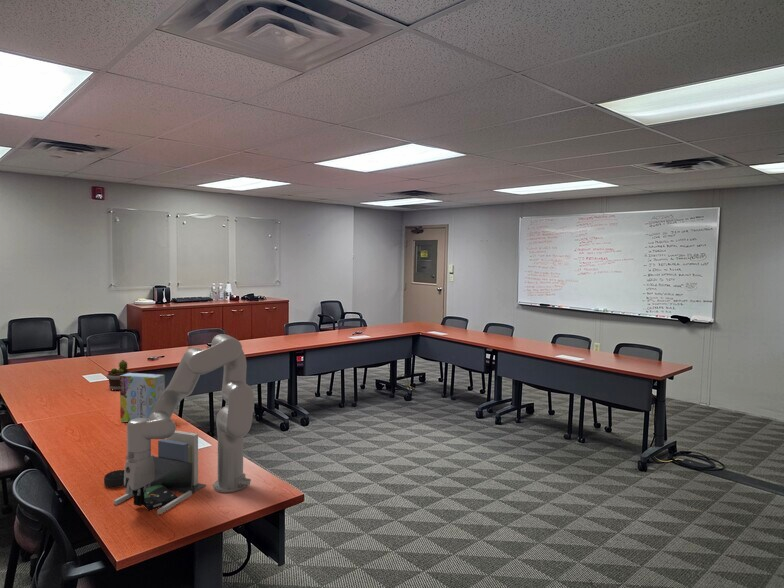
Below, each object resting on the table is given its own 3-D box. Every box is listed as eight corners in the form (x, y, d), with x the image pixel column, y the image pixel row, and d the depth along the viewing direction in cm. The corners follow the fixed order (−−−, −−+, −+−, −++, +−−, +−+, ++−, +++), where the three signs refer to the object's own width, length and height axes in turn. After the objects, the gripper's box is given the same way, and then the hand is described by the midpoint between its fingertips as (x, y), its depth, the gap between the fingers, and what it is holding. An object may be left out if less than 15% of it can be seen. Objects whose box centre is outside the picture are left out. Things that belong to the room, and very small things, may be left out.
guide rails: (191, 494, 190) (191, 490, 190) (160, 514, 175) (160, 510, 175) (148, 485, 197) (148, 482, 196) (113, 504, 181) (113, 500, 181)
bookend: (206, 485, 198) (206, 455, 198) (191, 494, 190) (191, 463, 189) (164, 477, 204) (164, 448, 204) (148, 486, 196) (148, 455, 196)
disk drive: (178, 503, 185) (161, 489, 195) (178, 496, 185) (161, 482, 195) (149, 513, 177) (132, 498, 187) (149, 505, 177) (132, 491, 187)
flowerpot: (118, 393, 326) (118, 362, 325) (101, 390, 332) (100, 360, 330) (137, 388, 340) (137, 358, 339) (120, 385, 345) (120, 356, 344)
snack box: (166, 421, 274) (166, 374, 272) (155, 426, 265) (155, 377, 264) (130, 418, 278) (129, 371, 276) (119, 422, 269) (118, 375, 267)
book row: (198, 483, 199) (198, 433, 198) (184, 491, 192) (184, 440, 191) (171, 478, 203) (171, 429, 202) (157, 486, 196) (157, 435, 195)
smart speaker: (119, 490, 193) (119, 479, 193) (98, 487, 194) (98, 477, 194) (135, 480, 202) (134, 470, 201) (115, 478, 203) (115, 468, 203)
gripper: (130, 463, 170) (130, 516, 171) (163, 448, 184) (163, 497, 185) (113, 460, 172) (113, 512, 173) (146, 445, 186) (146, 493, 188)
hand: (139, 504), depth 179 cm, fingers closed
